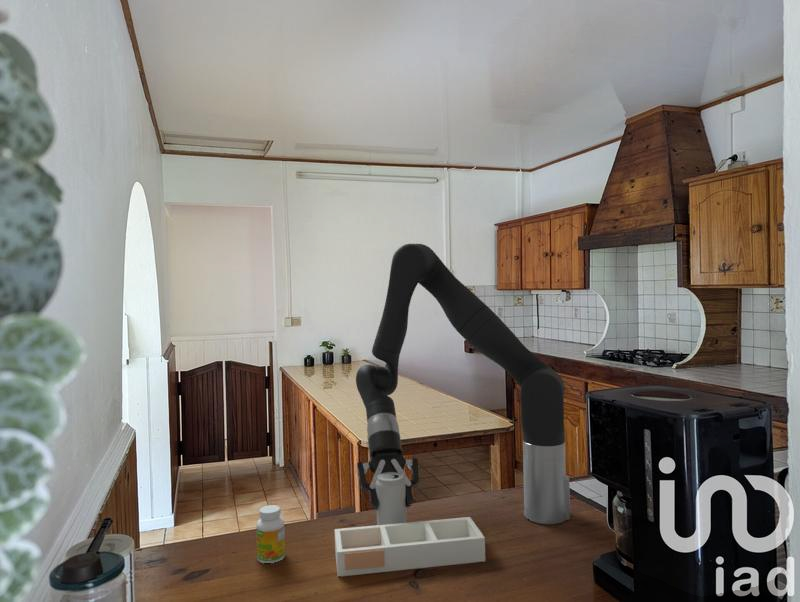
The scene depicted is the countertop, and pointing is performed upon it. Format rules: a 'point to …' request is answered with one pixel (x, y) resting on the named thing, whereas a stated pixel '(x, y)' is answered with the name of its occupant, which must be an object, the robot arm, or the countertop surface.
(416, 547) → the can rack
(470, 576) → the countertop surface
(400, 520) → the beverage can
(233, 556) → the countertop surface
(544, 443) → the robot arm
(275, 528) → the supplement bottle
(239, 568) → the countertop surface
